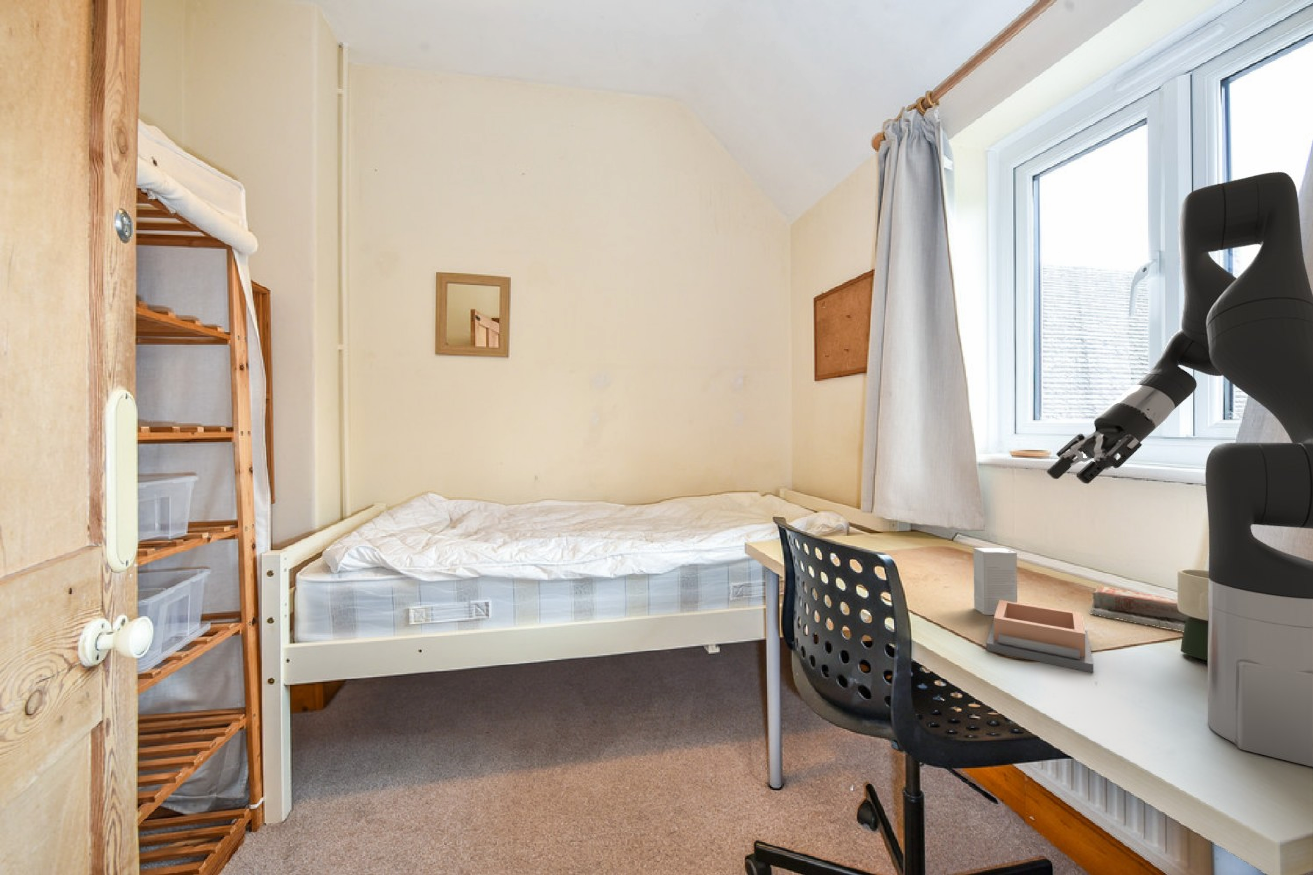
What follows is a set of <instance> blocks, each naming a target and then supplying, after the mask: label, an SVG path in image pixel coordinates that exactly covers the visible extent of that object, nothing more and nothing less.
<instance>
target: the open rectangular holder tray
mask: <svg viewBox="0 0 1313 875" xmlns="http://www.w3.org/2000/svg"><path fill="white" fill-rule="evenodd" d="M1091 650H1092V649H1091V645H1090V639H1089V634H1088V630H1085V624H1084V619H1083V613H1082V612H1079V611H1074V610H1066V609H1061V608H1054V607H1047V606H1040V605H1035V604H1028V603H1022V602H1018V601H1017V602H1010V601H1004V600H999V603H998V606H997V610H996V613H995V615H993V621H992V625H991V628H990V631H989V635H988V638H987V641H986V651H987V652H992V653H997V654H1001V655H1006V656H1012V657H1016V658H1021V659H1024V660H1025V659H1026V660H1029V661H1034V662H1035V661H1036V662H1040V663H1043V664H1044V663H1045V664H1049V665H1055V666H1059V667H1065V668H1070V669H1074V670H1078V671H1083V672H1087V673H1091V674H1093V673H1094V662H1093V654H1092V651H1091Z"/></svg>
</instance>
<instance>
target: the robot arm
mask: <svg viewBox="0 0 1313 875" xmlns="http://www.w3.org/2000/svg"><path fill="white" fill-rule="evenodd" d="M1299 204H1300V203H1299V198H1298V190H1297V187H1296V184H1295V181H1294V180H1293V178H1292V177H1291V176H1290V175H1289V174H1288V173H1286V172H1283V171H1272V172H1266V173H1260V174H1255V175H1252V176H1249V177H1247V176H1246V177H1243V178H1238V179H1233V180H1230V181H1225V182H1222V183H1216V184H1213V185H1208V186H1205V187H1202V188H1198V189H1195V190H1193V191H1191V192H1190V193H1189V194H1187V195H1186V196H1185V198H1184V199H1183V201H1182V205H1181V208H1180V211H1179V218H1178V244H1179V246H1178V247H1179V260H1180V270H1181V279H1182V285H1183V296H1184V297H1183V305H1182V306H1183V308H1182V314H1181V315H1182V316H1181V322H1180V323H1181V326H1180V327H1181V329H1179V330H1177V331H1176V332H1175V333H1174V334H1173V335H1172V336H1171V337H1170V338H1169V340H1168V342H1167V344H1166V345H1165V347H1164V349H1163V351H1162V353H1161V355H1160V356H1159V358H1158V360H1157V361H1156V362H1155V364H1154V365H1153V367H1152V368H1151V369H1150V370H1149V372H1147V374H1146V375H1144V377H1143V378H1141V379H1140V380H1139V381H1138V382H1136V384H1135V385H1133V387H1131V388H1129V389H1128V390H1127V391H1126V392H1124V393H1123V394H1121V395H1120V397H1118V398H1117V399H1116V400H1115V401H1114V402H1113V403H1112V404H1110V405H1109V407H1107V408H1106V409H1105V410H1104V411H1103V412H1102V413H1100V414H1099V415H1098V417H1097V418H1095V419H1094V422H1093V425H1094V429H1095V431H1094V432H1092V433H1091V434H1089V435H1087V436H1085V435H1084V434H1083V433H1079V434H1076V436H1074V437H1073V438H1072V439H1071V440H1070V441H1069V442H1068V443H1066V444H1065V445H1064V446H1063V447H1061V449H1060V450H1059V451H1057V452H1056V453H1055V455H1056V456H1057V457H1058V458H1059V459H1058V460H1057V461H1056V462H1054V464H1053V465H1052V466H1050V467H1049V468H1048V469H1047V470H1046V473H1047V474H1048V475H1049V476H1050V477H1051V478H1052V479H1054V480H1058V479H1060V478H1061V477H1062V476H1063V475H1064V474H1065V473H1067V471H1068V470H1069V469H1071V467H1072V466H1074V465H1076V464H1079V463H1081V462H1082V463H1087V462H1088V461H1089V460H1090V461H1089V462H1088V463H1087V464H1086V465H1085V466H1084V467H1083V468H1082V469H1081V470H1079V472H1078V473H1077V474H1076V475H1075V476H1076V478H1077V479H1078V480H1079V481H1080V482H1081V483H1083V484H1087V485H1088V484H1090V483H1091V482H1092V481H1093V480H1094V479H1095V478H1096V477H1097V476H1098V475H1099V474H1101V473H1102V472H1103V471H1107V470H1109V469H1111V468H1112V467H1113V468H1114V469H1118V468H1120V467H1121V466H1122V465H1123V464H1124V463H1125V462H1127V460H1128V459H1130V458H1131V457H1132V456H1133V455H1134V454H1135V453H1136V452H1137V451H1138V450H1140V448H1141V447H1143V443H1141V442H1142V441H1144V439H1146V438H1147V437H1148V436H1149V435H1150V434H1151V433H1152V432H1153V431H1155V430H1156V429H1157V428H1158V427H1159V426H1160V425H1162V423H1163V422H1165V421H1166V420H1167V418H1168V417H1169V416H1170V415H1171V413H1173V411H1174V410H1175V409H1176V408H1177V407H1179V406H1180V405H1181V404H1182V403H1183V402H1184V401H1185V400H1187V399H1188V397H1190V396H1191V395H1192V394H1193V393H1194V392H1195V390H1196V388H1197V386H1198V384H1197V380H1196V379H1195V377H1193V375H1192V374H1190V373H1189V372H1187V371H1186V370H1184V369H1183V368H1182V367H1180V366H1183V367H1185V368H1188V369H1190V370H1194V371H1197V372H1200V373H1203V374H1206V375H1208V376H1213V377H1214V376H1215V377H1224V378H1225V379H1226V380H1227V381H1229V382H1230V383H1231V384H1233V385H1234V387H1236V388H1237V389H1239V390H1241V391H1242V392H1243V393H1245V394H1246V395H1248V396H1249V397H1250V398H1252V399H1254V401H1256V402H1257V403H1259V404H1260V405H1261V406H1262V407H1264V408H1266V410H1268V411H1269V412H1270V413H1271V414H1272V415H1273V416H1274V417H1275V419H1276V420H1277V421H1278V422H1279V423H1280V425H1282V427H1283V428H1284V431H1285V432H1286V434H1287V435H1288V436H1289V439H1290V441H1291V442H1225V443H1220V444H1217V445H1215V446H1214V447H1213V448H1212V449H1211V450H1210V452H1209V454H1208V456H1207V458H1206V464H1205V465H1206V466H1205V471H1204V472H1205V492H1206V506H1207V518H1208V571H1209V603H1208V663H1207V725H1208V726H1209V727H1210V728H1209V729H1211V730H1212V731H1213V732H1214V733H1216V734H1218V736H1220V737H1221V738H1222V737H1223V739H1224V738H1225V739H1226V740H1227V741H1230V742H1231V743H1233V744H1235V746H1236V748H1238V749H1239V750H1243V751H1246V752H1251V753H1255V754H1258V755H1262V756H1263V755H1264V756H1268V757H1272V758H1275V759H1279V760H1284V761H1287V762H1292V763H1296V764H1301V765H1304V766H1308V767H1312V768H1313V560H1311V559H1310V560H1309V559H1307V558H1303V557H1299V556H1296V555H1293V554H1291V553H1287V552H1284V551H1282V550H1279V549H1277V548H1275V547H1272V546H1270V545H1268V544H1267V543H1264V542H1263V541H1261V540H1260V539H1258V538H1257V537H1255V536H1254V535H1253V534H1254V533H1253V532H1252V525H1255V526H1256V525H1258V526H1269V527H1270V526H1271V527H1284V528H1285V527H1286V528H1300V529H1313V292H1312V288H1311V283H1310V281H1309V280H1310V279H1309V276H1308V272H1307V268H1306V263H1305V260H1304V252H1303V242H1302V241H1303V240H1302V228H1301V218H1300V205H1299ZM1253 245H1254V246H1255V245H1259V246H1260V248H1259V250H1258V251H1257V254H1256V255H1255V256H1254V258H1253V259H1252V261H1251V262H1250V264H1249V265H1248V266H1247V267H1246V268H1245V269H1244V271H1243V272H1242V273H1240V275H1238V277H1237V278H1236V276H1234V275H1233V274H1232V273H1230V272H1229V271H1228V270H1226V269H1225V268H1223V266H1221V265H1220V264H1218V263H1217V262H1216V261H1215V260H1214V259H1213V258H1212V257H1211V255H1210V253H1213V252H1218V251H1225V250H1231V249H1236V248H1237V249H1238V248H1242V247H1249V246H1253ZM1118 455H1119V456H1120V457H1118ZM1117 457H1118V459H1117Z"/></svg>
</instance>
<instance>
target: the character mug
mask: <svg viewBox="0 0 1313 875" xmlns="http://www.w3.org/2000/svg"><path fill="white" fill-rule="evenodd" d="M1176 587H1177V593H1176V594H1177V597H1176V599H1177V606H1178V610H1179V612H1181V613H1183V614H1186V615H1188V616H1191V617H1189V618H1188V620H1187V621H1186V622H1185V627H1184V632H1182V637H1181V645H1180V652H1181V653H1183V654H1184V655H1188V656H1191V657H1193V658H1197V659H1201V660H1204V661H1205V662H1206V663H1207V664H1208V603H1209V570H1207V569H1206V570H1205V569H1194V568H1193V569H1192V568H1183V569H1182V568H1181V569H1178V570H1177V586H1176Z"/></svg>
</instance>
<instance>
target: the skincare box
mask: <svg viewBox="0 0 1313 875" xmlns="http://www.w3.org/2000/svg"><path fill="white" fill-rule="evenodd" d="M972 553H973V600H974V601H973V605H974V606H973V607H974V610H976V611H978V612H979V613H981V614H983V615H985V616H995V613H996V610H997V606H998V603H999V600H1004V601H1010V602H1017V603H1018V563H1017V562H1018V559H1017V558H1018V553H1017V552H1015V551H1013V550H1011V549H1008V548H1005V547H973V551H972Z"/></svg>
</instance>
